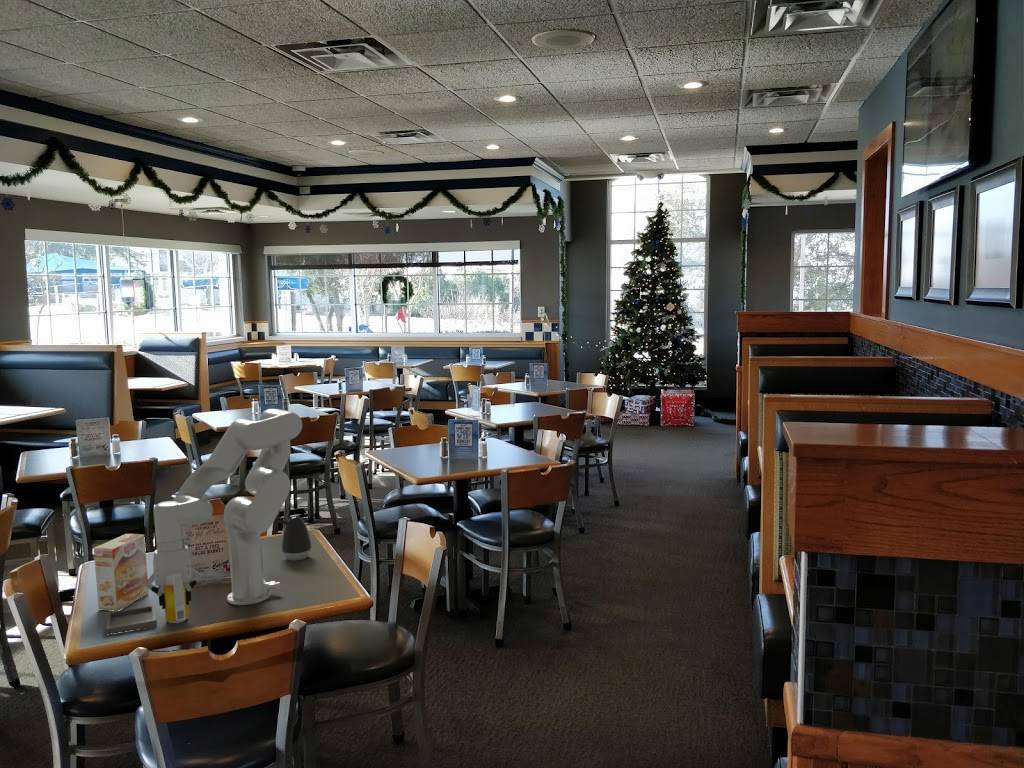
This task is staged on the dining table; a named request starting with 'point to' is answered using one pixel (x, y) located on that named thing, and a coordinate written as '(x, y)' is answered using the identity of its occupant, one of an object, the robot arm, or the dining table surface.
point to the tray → (131, 619)
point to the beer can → (175, 599)
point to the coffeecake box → (121, 571)
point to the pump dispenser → (295, 539)
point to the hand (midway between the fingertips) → (175, 604)
